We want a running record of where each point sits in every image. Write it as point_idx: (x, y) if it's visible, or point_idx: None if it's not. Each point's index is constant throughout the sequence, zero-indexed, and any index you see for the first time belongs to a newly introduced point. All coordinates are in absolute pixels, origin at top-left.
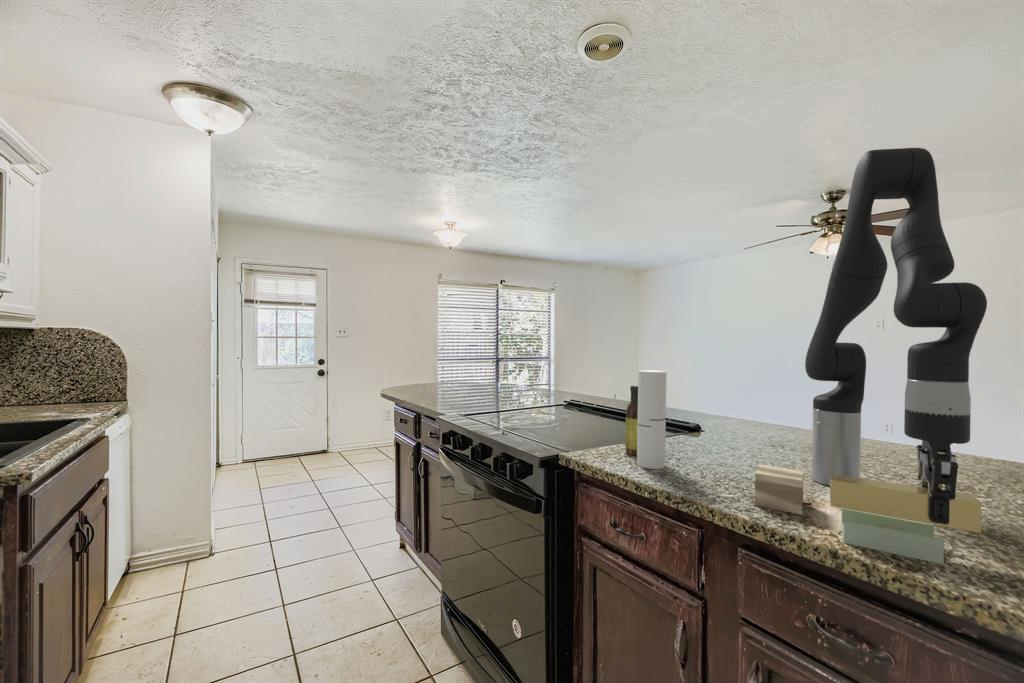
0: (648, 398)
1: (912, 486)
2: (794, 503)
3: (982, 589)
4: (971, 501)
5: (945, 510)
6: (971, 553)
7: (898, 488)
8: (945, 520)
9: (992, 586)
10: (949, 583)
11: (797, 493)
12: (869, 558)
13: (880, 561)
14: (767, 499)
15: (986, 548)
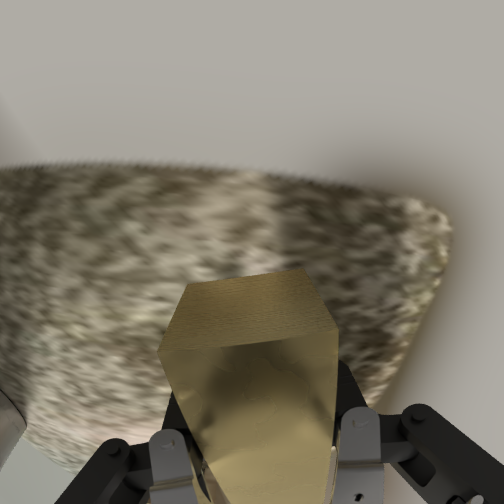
0: None
1: (231, 480)
2: (219, 487)
3: (403, 243)
4: (335, 359)
5: (355, 387)
6: (177, 246)
7: (303, 491)
8: (344, 364)
9: (378, 225)
10: (408, 289)
11: (217, 501)
12: (368, 388)
13: (372, 376)
14: (228, 500)
15: (108, 215)
